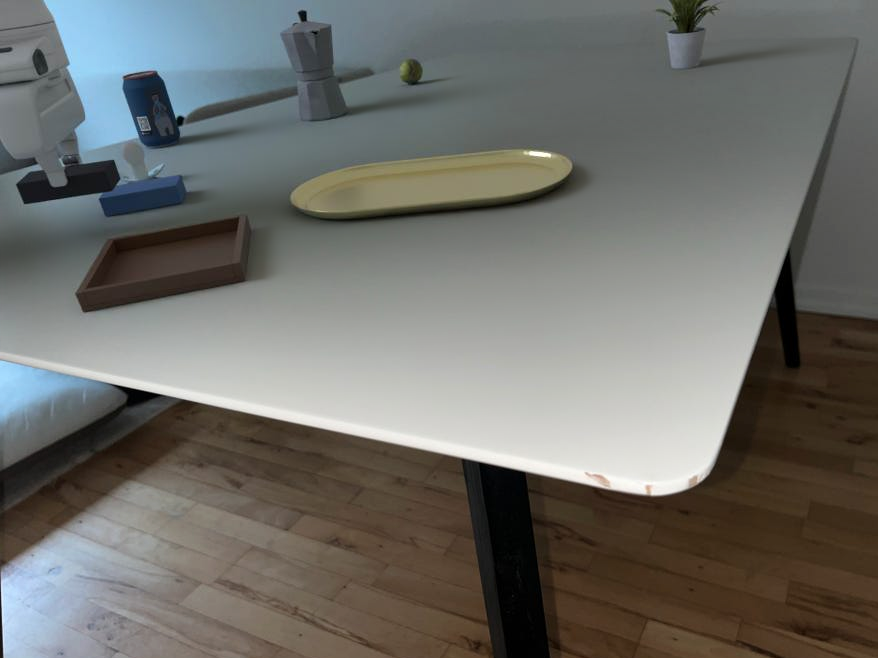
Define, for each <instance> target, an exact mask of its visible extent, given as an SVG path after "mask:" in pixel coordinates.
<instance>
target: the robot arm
mask: <svg viewBox="0 0 878 658" xmlns="http://www.w3.org/2000/svg"><path fill="white" fill-rule="evenodd" d="M57 26H58V25H57V23H56V20H55V18H54V16H53V14H52V12H51V11H50V10H49V8H48V6H47V5H46V3H45V0H0V141H1V143H2V145H3V147H4V148H5V150H6V151H7V153H9V154H10V156H11V157H12V158H13V159H14V160H25V159H32V158H33V159H34V160H35V162H36V163H37V164H38V165H39V167H40V168H41V170H44V172H45V173H46V174H47V177H48V179H49V182H50V184H51V185H52V186H53V187H60V186H65V185H66V184H67V183H68V182H69V176H68V174H67V171H66V168H65V167H66V166H73V165H80V164H84V163H83V160H82V158H81V155H80V149H79V141H78V136H77V132H76V129H77V128H78V127H80V125H82V123H84V122H85V121H86V111H85V108H84V105H83V102H82V99H81V97H80V94H79V92H78V90H77V86H76V85H75V81H74V80H73V77H72V75H71V72H70V71H69V69H68V67H69V66H70V64H71V63H70V60H69V57H68V54H67V52H66V49H65V46H64V43H63V40H62V38H61V34H60V32H59V29H58V27H57ZM57 146H59V149H60V154H61V157H60V158H61V161H62V163H61V161H60V158H59V157H58V156H59V152H58V150H57ZM62 164H63V165H62Z"/></svg>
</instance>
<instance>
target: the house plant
mask: <svg viewBox="0 0 878 658" xmlns="http://www.w3.org/2000/svg"><path fill="white" fill-rule="evenodd" d="M668 1H669V2H670V5H671V7H672V8H673V10H674V11H672V12H673V13H670V11H668V10H666V9H664V8H656V9H654V10H653V11H652V12H653V13H654V12H657V13H662V14H665V15H667V16H669V17H670V19H669V22H668V23H669V24H668V25H670V24H671V23H672V22H674V24H675V26H676V28H673V29H669V30H668V31H666V38H667V44H668V51H669V58H670V64H671V68H672V69H677V70H682V69H683V70H685V69H694V68H697V67H699V66H700V65H701V60H702V59H701V58H702V55H703V50H704V49H703V48H704V44H705V38H706V33H707V28H705V27H699V26H698V24H699V23H700V22H701V20H702V19H703V18H704V17H705V16H706V15H707V13H710V14H712V16H713V17H714V18H716V16H715V12H714V11H718V12H720V11H721V12H722V10H720V9H719V8H718V7H717V5H718V4H722V3H724V1H720V2H717V3H715V4H713V5H712V6H711V5H705V6H703V7H702V5H703V4H704V3H706V2H708V1H709V0H668Z"/></svg>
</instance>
